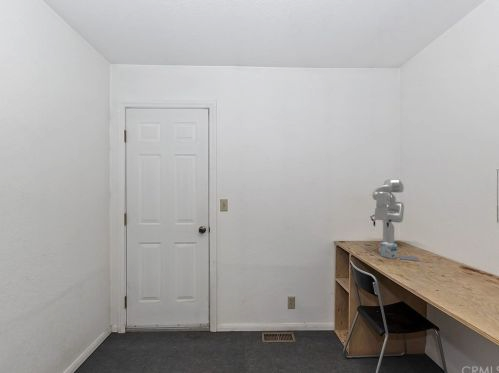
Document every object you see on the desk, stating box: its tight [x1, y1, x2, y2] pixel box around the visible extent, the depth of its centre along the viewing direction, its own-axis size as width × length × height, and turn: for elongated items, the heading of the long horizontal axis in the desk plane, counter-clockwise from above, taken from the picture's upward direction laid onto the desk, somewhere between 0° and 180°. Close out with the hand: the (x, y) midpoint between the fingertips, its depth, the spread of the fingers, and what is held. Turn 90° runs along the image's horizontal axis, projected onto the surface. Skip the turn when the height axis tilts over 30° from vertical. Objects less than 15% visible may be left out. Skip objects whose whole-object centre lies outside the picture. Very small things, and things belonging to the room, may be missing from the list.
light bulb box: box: [379, 241, 398, 260], centre depth 217 cm, size 11×7×11 cm, turn 22°
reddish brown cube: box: [376, 244, 380, 254], centre depth 232 cm, size 6×6×6 cm
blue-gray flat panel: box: [399, 254, 419, 262], centre depth 213 cm, size 12×12×1 cm
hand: (381, 226), depth 231 cm, fingers open, 9 cm apart
